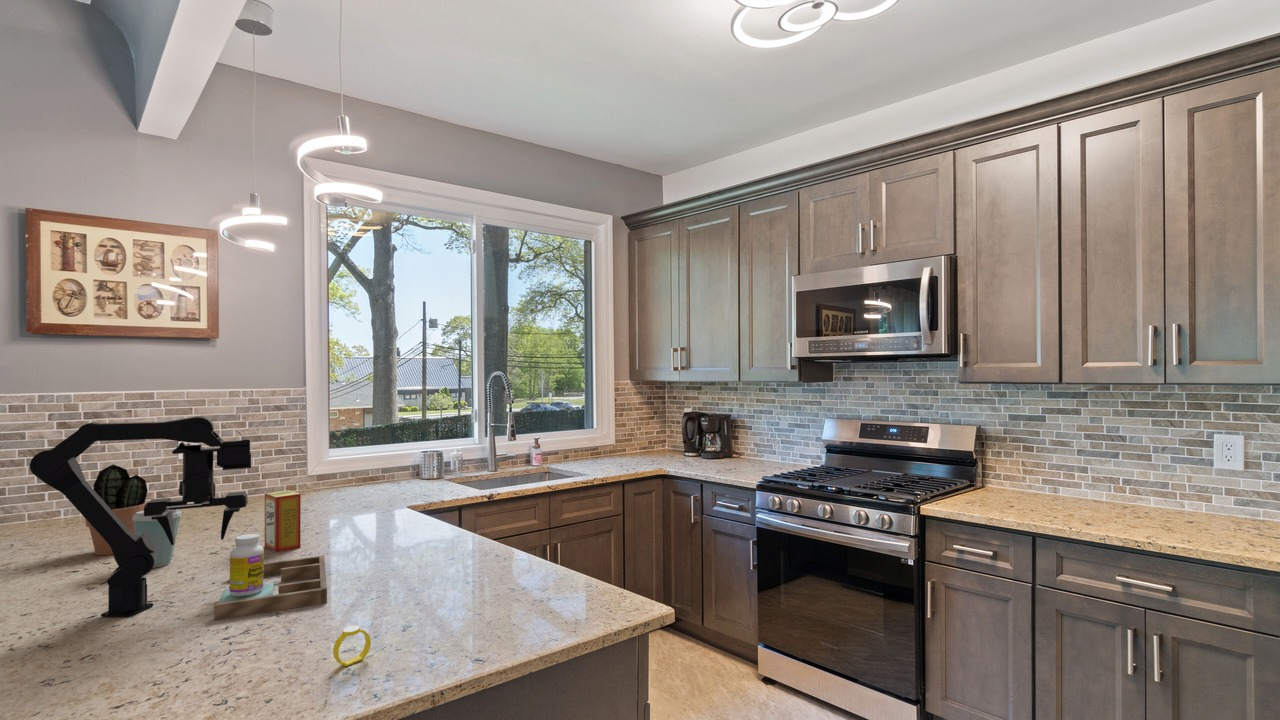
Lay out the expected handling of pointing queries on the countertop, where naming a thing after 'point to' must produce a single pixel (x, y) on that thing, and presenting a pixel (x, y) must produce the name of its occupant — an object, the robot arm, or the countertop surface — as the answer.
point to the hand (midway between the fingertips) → (198, 542)
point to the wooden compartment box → (280, 589)
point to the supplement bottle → (246, 566)
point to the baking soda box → (282, 520)
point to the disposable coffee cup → (157, 535)
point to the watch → (348, 632)
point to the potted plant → (118, 500)
